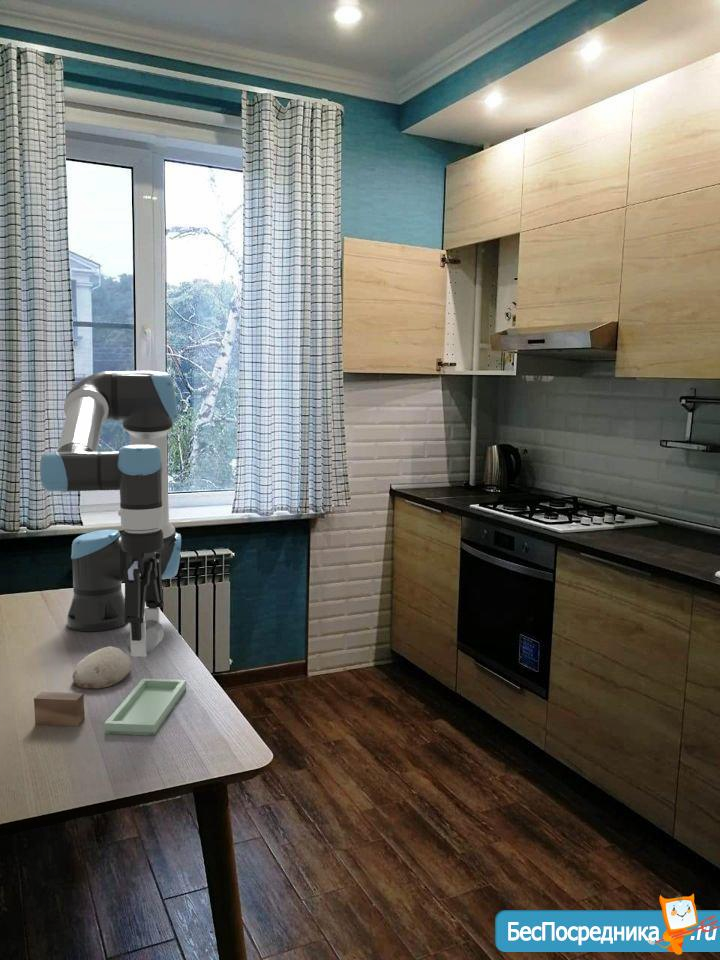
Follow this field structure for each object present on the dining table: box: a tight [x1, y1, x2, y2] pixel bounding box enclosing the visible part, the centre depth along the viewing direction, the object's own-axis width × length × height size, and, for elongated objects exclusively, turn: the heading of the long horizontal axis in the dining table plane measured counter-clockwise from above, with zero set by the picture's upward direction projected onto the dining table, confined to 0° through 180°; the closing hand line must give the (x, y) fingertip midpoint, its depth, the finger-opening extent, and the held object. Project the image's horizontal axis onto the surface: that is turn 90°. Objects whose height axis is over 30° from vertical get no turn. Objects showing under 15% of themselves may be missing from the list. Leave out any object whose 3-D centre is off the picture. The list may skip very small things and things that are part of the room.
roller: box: [126, 620, 165, 658], centre depth 145 cm, size 5×7×5 cm
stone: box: [72, 645, 132, 690], centre depth 162 cm, size 13×10×8 cm
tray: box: [103, 678, 187, 737], centre depth 147 cm, size 20×9×2 cm, turn 176°
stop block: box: [33, 691, 86, 727], centre depth 142 cm, size 3×8×5 cm, turn 87°
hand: (145, 648), depth 145 cm, fingers closed on roller, 7 cm apart
